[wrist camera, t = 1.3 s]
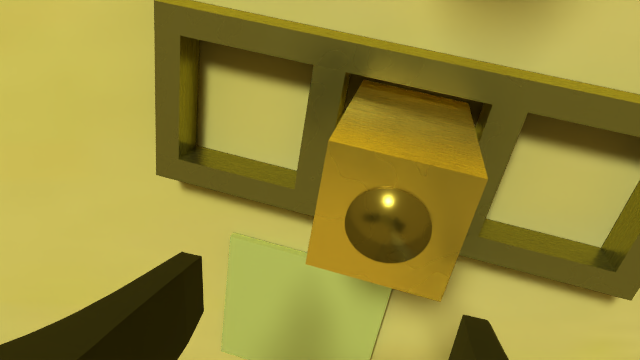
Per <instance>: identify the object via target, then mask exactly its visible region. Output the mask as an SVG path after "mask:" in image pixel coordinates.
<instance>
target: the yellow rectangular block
mask: <svg viewBox="0 0 640 360" xmlns="http://www.w3.org/2000/svg"><path fill="white" fill-rule="evenodd" d="M487 181H488V177H487V173H486V169H485V165H484V162H483V158H482V154H481V150H480V146H479V142H478V139H477V135H476V131H475V127H474V123H473V119H472V115H471V112H470V108H469V104H468V103H467V102H463V101H458V100H454V99H449V98H445V97H440V96H436V95H431V94H427V93H422V92H418V91H413V90H409V89H404V88H400V87H395V86H391V85H386V84H382V83H377V82H373V81H368V80H363V82H362V83H361V85H360V87H359V89H358V90H357V92H356V94H355V95H354V97H353V99H352V101H351V102H350V104H349V106H348V108H347V109H346V111H345V113H344V115H343V116H342V118H341V120H340V121H339V123H338V125H337V127H336V128H335V130H334V132H333V134H332V135H331V137H330V139H329V140H328V146H327V151H326V156H325V162H324V167H323V172H322V178H321V183H320V188H319V194H318V199H317V204H316V210H315V215H314V220H313V226H312V231H311V237H310V242H309V247H308V253H307V258H306V263H305V264H307V265H310V266H314V267H317V268H321V269H325V270H328V271H332V272H335V273H339V274H342V275H346V276H350V277H353V278H357V279H360V280H364V281H367V282H371V283H375V284H378V285H382V286H385V287H389V288H393V289H396V290H400V291H403V292H407V293H410V294H414V295H418V296H421V297H425V298H428V299H432V300H436V301H439V302H441V299H442V296H443V294H444V291H445V289H446V286H447V284H448V281H449V278H450V276H451V273H452V271H453V268H454V266H455V263H456V260H457V258H458V255H459V253H460V250H461V247H462V245H463V242H464V240H465V237H466V235H467V232H468V229H469V227H470V224H471V222H472V219H473V217H474V214H475V211H476V209H477V206H478V204H479V201H480V199H481V196H482V193H483V191H484V188H485V186H486V183H487Z"/></svg>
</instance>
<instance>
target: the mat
mask: <svg viewBox="0 0 640 360" xmlns="http://www.w3.org/2000/svg"><path fill="white" fill-rule="evenodd" d="M306 258H307V253H306V252H302V251H299V250H295V249H292V248H288V247H284V246H281V245H277V244H273V243H270V242H266V241H263V240H259V239H255V238H252V237H248V236H244V235H241V234H237V233H234V232H233V234H232V235H231V236H230V248H229V260H228V273H227V285H226V297H225V309H224V321H223V333H222V345H221V351H222V352H225V353H228V354H231V355H235V356H238V357H241V358H244V359H247V360H370V357H371V354H372V351H373V348H374V345H375V341H376V338H377V335H378V332H379V329H380V325H381V322H382V319H383V316H384V313H385V309H386V306H387V303H388V300H389V297H390V294H391V290H392V288H389V287H385V286H382V285H378V284H375V283H371V282H367V281H364V280H360V279H357V278H353V277H350V276H346V275H342V274H339V273H335V272H332V271H328V270H325V269H321V268H317V267H314V266H310V265H307V264H305V263H306Z"/></svg>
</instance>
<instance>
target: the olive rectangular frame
mask: <svg viewBox="0 0 640 360" xmlns="http://www.w3.org/2000/svg"><path fill="white" fill-rule="evenodd" d="M154 29H155V110H156V175H159V176H162V177H166V178H170V179H174V180H178V181H181V182H185V183H189V184H193V185H196V186H200V187H204V188H208V189H212V190H215V191H219V192H223V193H227V194H230V195H234V196H238V197H242V198H246V199H249V200H253V201H257V202H261V203H264V204H268V205H272V206H276V207H280V208H283V209H287V210H291V211H295V212H298V213H302V214H306V215H310V216H314V215H315V210H316V204H317V199H318V194H319V188H320V183H321V178H322V172H323V167H324V162H325V156H326V151H327V146H328V140H329V139H330V137H331V135H332V134H333V132H334V130H335V128H336V127H337V125H338V123H339V121H340V120H341V118H342V115H343V110H344V105H345V100H346V95H347V90H348V85H349V80H350V75H351V73H352V74H356V75H361V76H365V77H370V78H374V79H379V80H383V81H388V82H392V83H397V84H401V85H406V86H410V87H415V88H419V89H424V90H428V91H433V92H437V93H442V94H447V95H451V96H456V97H460V98H465V99H469V100H474V101H478V102H483V103H484V104H483V107H482V110H481V113H480V115H479V118H478V121H477V124H476V127H475V131H476V135H477V139H478V142H479V146H480V150H481V154H482V158H483V162H484V165H485V169H486V173H487V177H488V181H487V183H486V186H485V188H484V191H483V193H482V196H481V199H480V201H479V204H478V206H477V209H476V211H475V214H474V217H473V219H472V222H471V224H470V227H469V229H468V232H467V235H466V237H465V240H464V242H463V245H462V247H461V250H460V253H459V255H461V256H465V257H468V258H472V259H476V260H480V261H484V262H487V263H491V264H495V265H499V266H502V267H506V268H510V269H514V270H518V271H521V272H525V273H529V274H533V275H536V276H540V277H544V278H548V279H552V280H555V281H559V282H563V283H567V284H570V285H574V286H578V287H582V288H586V289H589V290H593V291H597V292H601V293H604V294H608V295H612V296H616V297H620V298H623V299H627V300H632V299H633V297H634V296H635V294H636V293H637V291H638V289H639V288H640V181H639V183H638V185H637V186H636V188H635V190H634V192H633V193H632V195H631V197H630V199H629V200H628V202H627V204H626V206H625V207H624V209H623V211H622V213H621V214H620V216H619V218H618V220H617V221H616V223H615V225H614V227H613V228H612V230H611V232H610V234H609V235H608V237H607V239H606V241H605V242H604V244H603V246H602V248H599V247H595V246H591V245H588V244H584V243H580V242H576V241H572V240H568V239H564V238H560V237H556V236H552V235H548V234H544V233H540V232H536V231H532V230H528V229H524V228H520V227H516V226H512V225H508V224H504V223H501V222H497V221H493V220H489V219H485V218H486V216H487V213H488V211H489V208H490V206H491V203H492V201H493V198H494V196H495V193H496V191H497V188H498V186H499V184H500V181H501V179H502V176H503V174H504V171H505V169H506V166H507V164H508V161H509V159H510V156H511V154H512V151H513V149H514V146H515V144H516V141H517V139H518V137H519V134H520V132H521V129H522V127H523V124H524V122H525V119H526V117H527V114H528V113H532V114H537V115H541V116H546V117H550V118H555V119H559V120H564V121H568V122H573V123H577V124H582V125H587V126H591V127H596V128H600V129H605V130H609V131H614V132H618V133H623V134H627V135H632V136H636V137H640V95H639V94H634V93H630V92H625V91H620V90H615V89H611V88H606V87H601V86H596V85H592V84H587V83H582V82H577V81H573V80H568V79H563V78H558V77H553V76H549V75H544V74H539V73H534V72H530V71H525V70H520V69H515V68H511V67H506V66H501V65H496V64H492V63H487V62H482V61H477V60H473V59H468V58H463V57H458V56H454V55H449V54H444V53H439V52H435V51H430V50H425V49H420V48H416V47H411V46H406V45H401V44H397V43H392V42H387V41H382V40H378V39H373V38H368V37H363V36H358V35H354V34H349V33H344V32H339V31H335V30H330V29H325V28H320V27H316V26H311V25H306V24H301V23H297V22H292V21H287V20H282V19H278V18H273V17H268V16H263V15H259V14H254V13H249V12H244V11H240V10H235V9H230V8H225V7H221V6H216V5H211V4H206V3H202V2H197V1H192V0H154ZM200 40H203V41H207V42H212V43H216V44H221V45H225V46H230V47H234V48H239V49H243V50H248V51H252V52H257V53H261V54H266V55H270V56H275V57H279V58H284V59H288V60H293V61H297V62H302V63H306V64H311V65H314V66H313V73H312V79H311V86H310V92H309V98H308V105H307V111H306V118H305V124H304V130H303V137H302V143H301V150H300V156H299V162H298V169H297V171H295V170H291V169H287V168H283V167H279V166H275V165H271V164H267V163H263V162H259V161H255V160H251V159H247V158H244V157H240V156H236V155H232V154H228V153H224V152H220V151H216V150H212V149H208V148H204V147H200V146H196V138H197V109H198V80H199V51H200Z"/></svg>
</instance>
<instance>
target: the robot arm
mask: <svg viewBox="0 0 640 360" xmlns="http://www.w3.org/2000/svg"><path fill="white" fill-rule="evenodd" d="M203 312H204V305H203V279H202V256H197V255H193V254H188V253H184V252H181V253H179V254H177V255H176V256H174V257H172V258H170V259H169V260H167V261H166V262H164V263H162V264H161V265H159V266H157V267H156V268H154V269H152V270H151V271H149V272H147V273H146V274H144V275H142V276H141V277H139V278H137V279H136V280H134V281H132V282H131V283H129V284H127V285H126V286H124V287H122V288H120V289H119V290H117V291H115V292H113V293H112V294H110V295H108V296H106V297H104V298H102V299H100V300H99V301H97V302H95V303H93V304H91V305H89V306H87V307H85V308H84V309H82V310H80V311H78V312H76V313H74V314H72V315H70V316H68V317H66V318H64V319H61V320H59V321H57V322H55V323H53V324H51V325H48V326H46V327H44V328H42V329H39V330H37V331H35V332H32V333H30V334H28V335H25V336H22V337H20V338H17V339H15V340H12V341H9V342H7V343H4V344H2V345H0V360H177V359H178V358H179V356H180V355H181V353H182V352H183V350H184V349H185V347H186V346H187V344H188V342H189V340H190V338H191V336H192V334H193V332H194V330H195V328H196V326H197V324H198V322H199V320H200V318H201V316H202V314H203ZM449 360H509V359H508V358H507V356H506V354H505V352H504V350H503V348H502V346H501V344H500V342H499V340H498V338H497V336H496V334H495V332H494V330H493V328H492V326H491V324H490V323H489V322H488V320H485V319H480V318H476V317H471V316H467V315H463V316H462V319H461V323H460V326H459V329H458V332H457V335H456V338H455V341H454V344H453V347H452V351H451V354H450V357H449Z"/></svg>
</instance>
